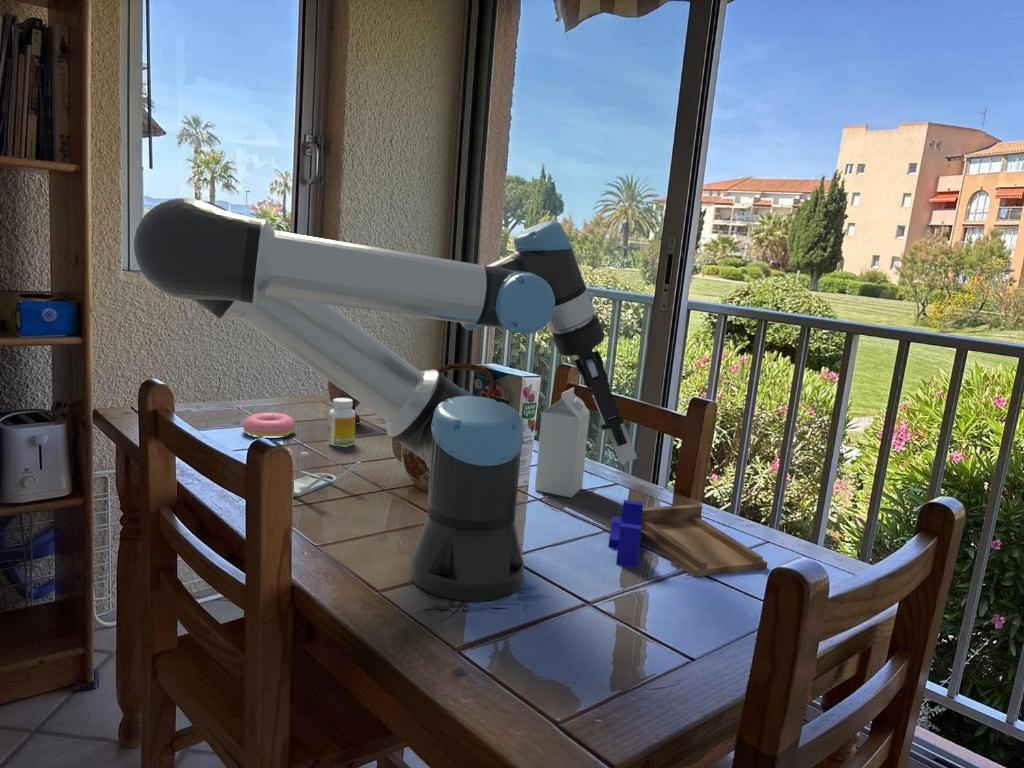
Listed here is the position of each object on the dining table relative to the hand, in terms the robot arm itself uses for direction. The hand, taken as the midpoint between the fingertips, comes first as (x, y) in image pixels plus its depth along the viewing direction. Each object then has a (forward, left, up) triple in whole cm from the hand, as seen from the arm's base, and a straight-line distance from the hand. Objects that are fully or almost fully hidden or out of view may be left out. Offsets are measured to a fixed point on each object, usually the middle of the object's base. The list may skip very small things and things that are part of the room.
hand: (620, 442), depth 118 cm
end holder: (+10, -9, -15) cm, 20 cm away
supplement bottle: (-35, +54, -15) cm, 66 cm away
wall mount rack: (-45, +26, -15) cm, 54 cm away
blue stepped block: (-2, -8, -15) cm, 17 cm away
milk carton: (0, +20, -15) cm, 25 cm away
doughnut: (-49, +64, -15) cm, 82 cm away
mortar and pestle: (-30, +72, -15) cm, 79 cm away
